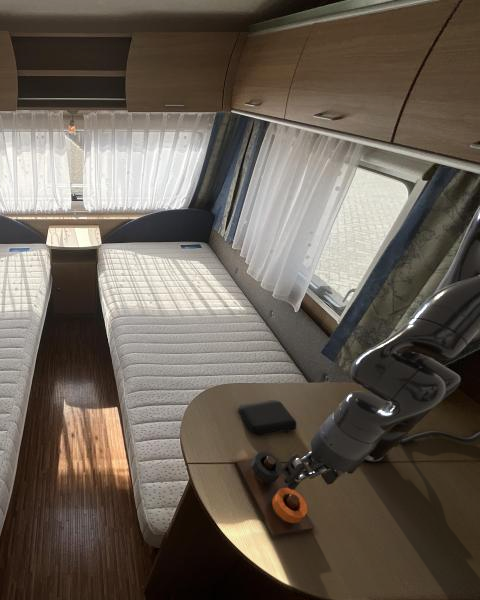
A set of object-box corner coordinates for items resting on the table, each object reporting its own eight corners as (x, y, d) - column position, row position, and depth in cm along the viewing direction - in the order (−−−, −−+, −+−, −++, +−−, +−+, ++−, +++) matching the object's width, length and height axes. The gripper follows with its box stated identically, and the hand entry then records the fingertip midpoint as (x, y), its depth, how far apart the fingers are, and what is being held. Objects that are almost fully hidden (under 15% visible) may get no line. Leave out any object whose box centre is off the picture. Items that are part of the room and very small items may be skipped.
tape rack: (268, 459, 91) (279, 442, 86) (312, 530, 77) (327, 515, 72) (234, 464, 90) (243, 447, 85) (271, 537, 76) (285, 522, 71)
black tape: (268, 456, 88) (272, 450, 86) (283, 480, 83) (288, 474, 81) (246, 459, 87) (250, 453, 85) (260, 483, 82) (264, 477, 80)
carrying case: (254, 441, 95) (300, 433, 97) (257, 435, 93) (304, 427, 95) (233, 410, 104) (276, 403, 106) (236, 403, 102) (280, 396, 104)
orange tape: (290, 492, 81) (295, 486, 79) (308, 520, 76) (313, 515, 74) (266, 495, 80) (271, 489, 78) (282, 524, 75) (287, 519, 73)
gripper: (323, 464, 57) (287, 506, 67) (396, 454, 59) (351, 496, 69) (295, 425, 63) (266, 469, 73) (362, 417, 65) (325, 461, 75)
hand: (307, 482), depth 71 cm, fingers open, 8 cm apart
